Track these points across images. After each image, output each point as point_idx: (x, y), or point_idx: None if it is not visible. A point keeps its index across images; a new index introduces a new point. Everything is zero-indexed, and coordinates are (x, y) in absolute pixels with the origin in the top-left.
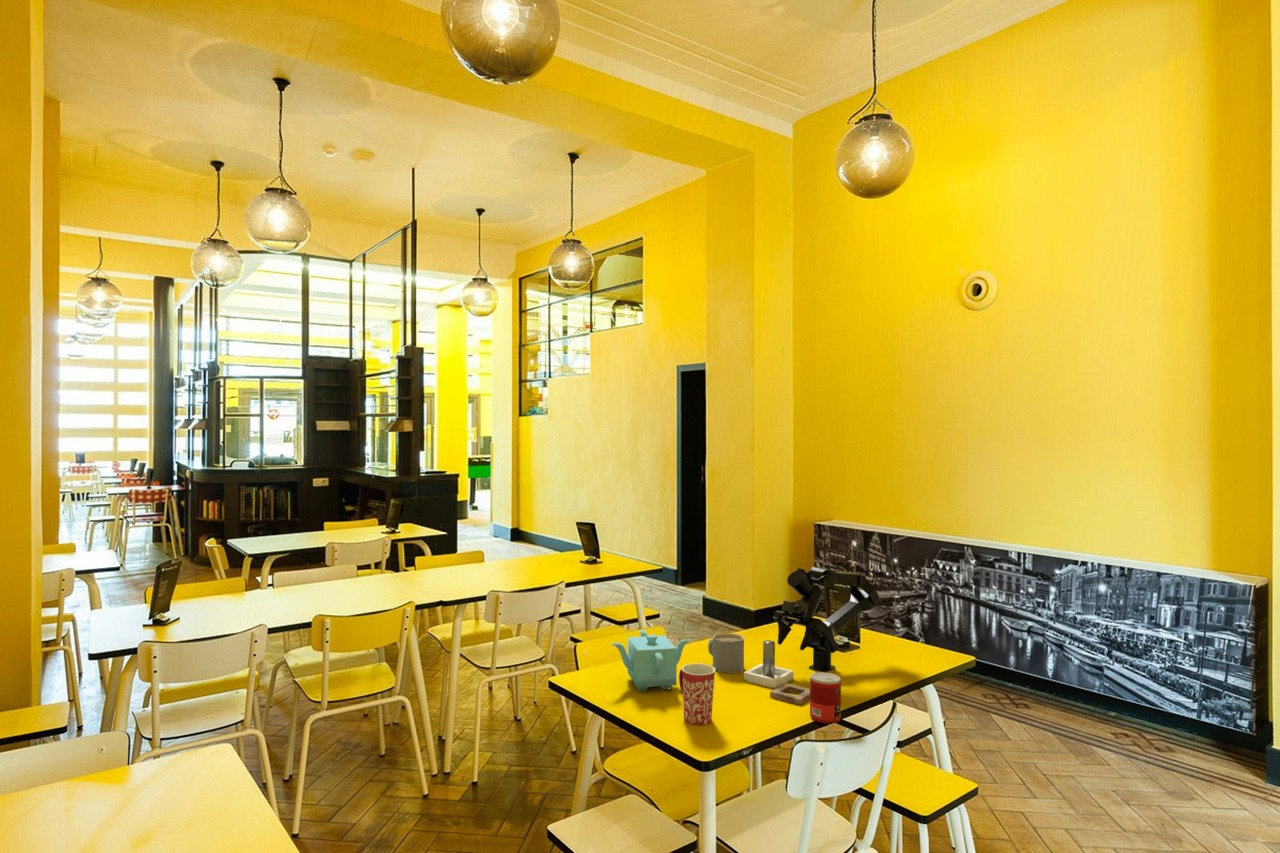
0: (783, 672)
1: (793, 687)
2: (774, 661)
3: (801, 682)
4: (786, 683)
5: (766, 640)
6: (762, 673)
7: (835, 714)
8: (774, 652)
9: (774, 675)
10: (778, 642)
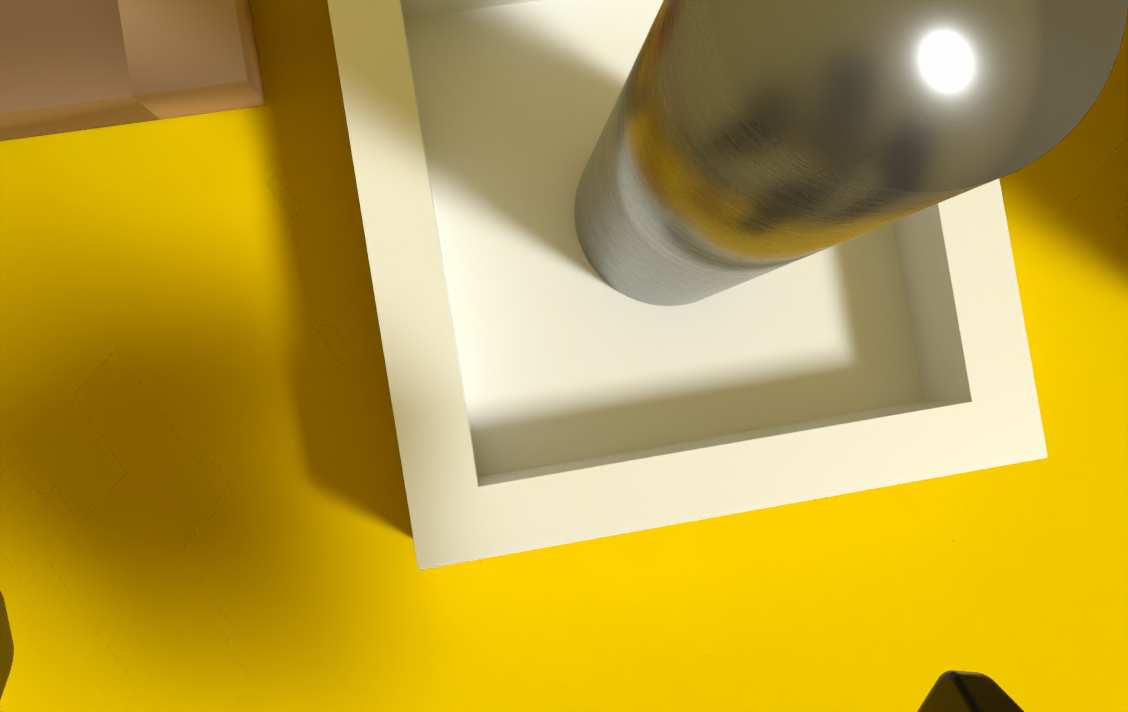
0: (572, 467)
1: (27, 8)
2: (616, 179)
3: (252, 517)
4: (223, 80)
5: (1103, 68)
6: (860, 302)
7: None
8: (649, 120)
9: (583, 229)
10: (968, 685)
